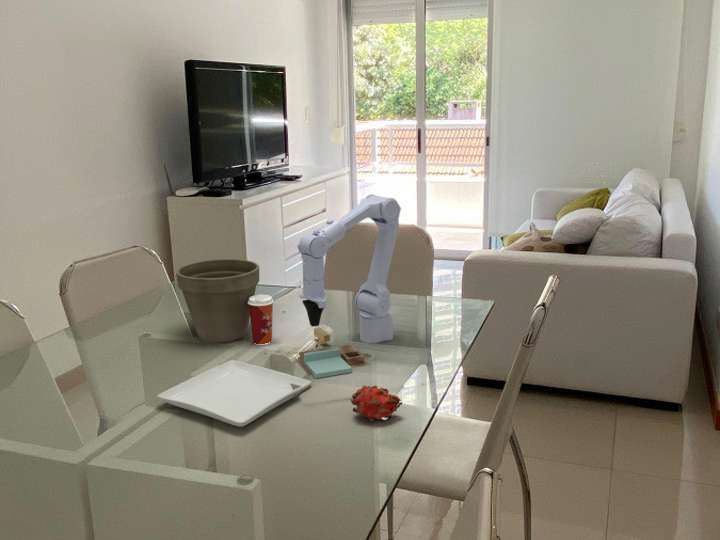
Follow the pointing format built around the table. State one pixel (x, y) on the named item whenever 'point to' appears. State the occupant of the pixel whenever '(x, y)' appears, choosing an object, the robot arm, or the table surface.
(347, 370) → the cover
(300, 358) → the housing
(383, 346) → the table surface
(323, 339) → the tan block with knob
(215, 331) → the plant pot
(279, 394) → the square plate
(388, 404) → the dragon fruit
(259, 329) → the paper cup
